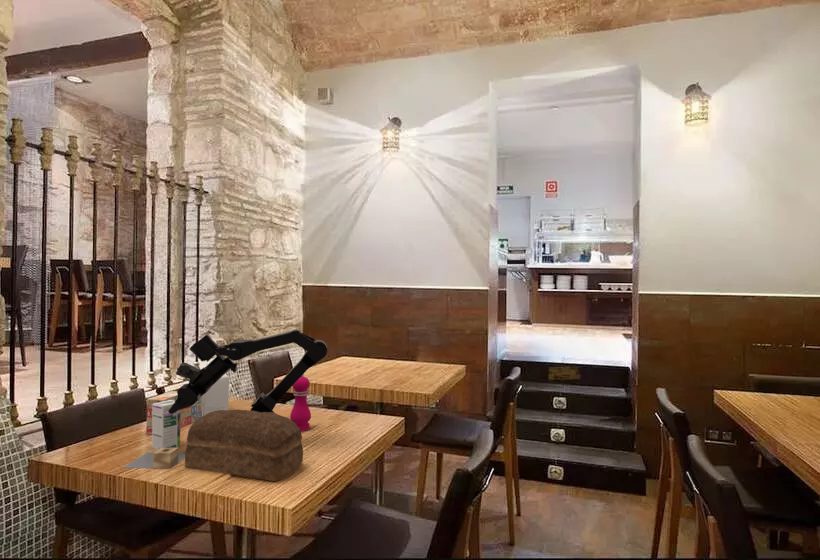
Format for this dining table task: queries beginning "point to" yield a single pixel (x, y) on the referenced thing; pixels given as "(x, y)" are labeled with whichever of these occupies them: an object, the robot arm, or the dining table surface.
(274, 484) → the dining table surface
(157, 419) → the syrup box
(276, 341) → the robot arm
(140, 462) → the slate board
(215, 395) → the supplement box
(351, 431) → the dining table surface
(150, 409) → the stack of blocks
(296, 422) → the pepper mill
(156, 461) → the oak block
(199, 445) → the bread
